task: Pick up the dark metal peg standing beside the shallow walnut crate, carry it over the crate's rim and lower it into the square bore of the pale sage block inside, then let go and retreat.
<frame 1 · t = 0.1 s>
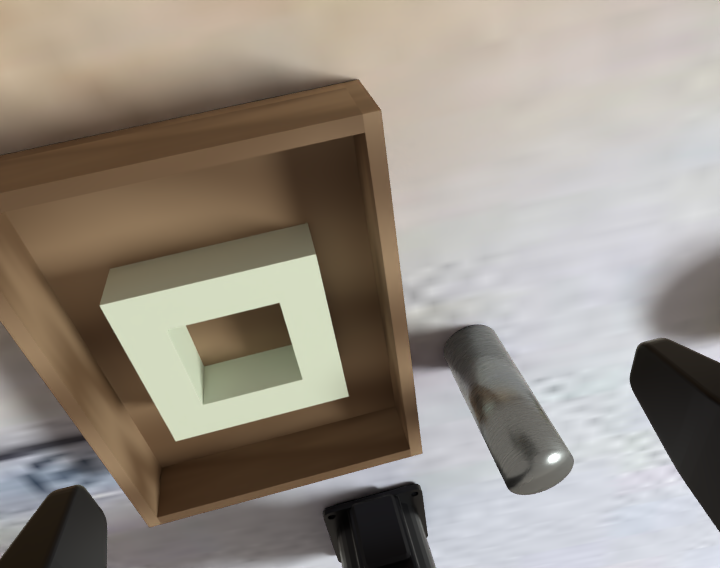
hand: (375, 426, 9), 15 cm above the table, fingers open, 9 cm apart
bore plate: (238, 337, 23), in the crate, point 1 cm above the table
crate: (237, 311, 25), on the table
peg: (470, 346, 29), on the table
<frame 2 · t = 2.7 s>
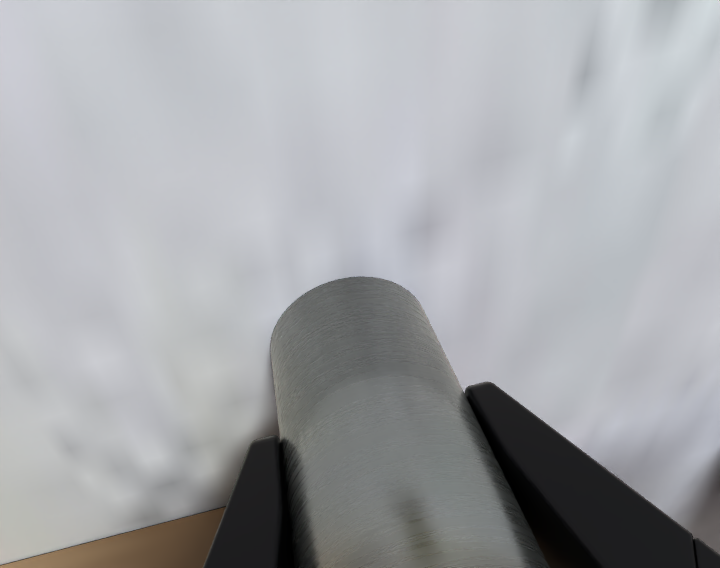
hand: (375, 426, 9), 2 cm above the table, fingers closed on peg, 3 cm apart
peg: (350, 342, 10), on the table, touching gripper
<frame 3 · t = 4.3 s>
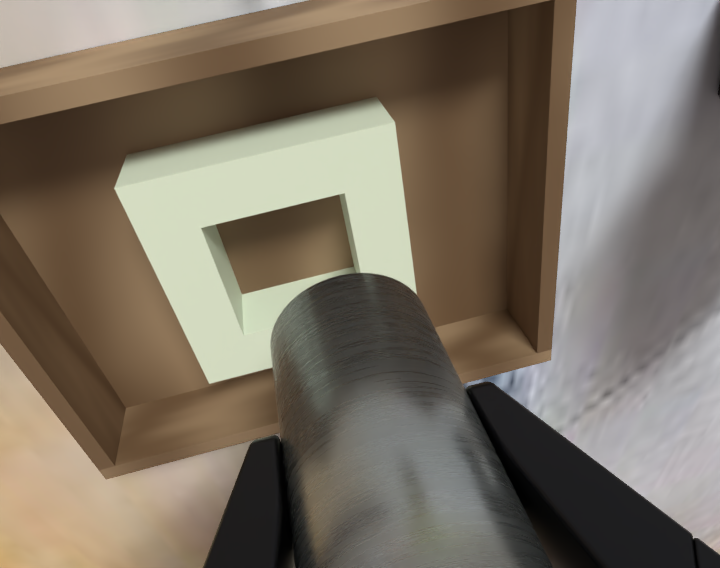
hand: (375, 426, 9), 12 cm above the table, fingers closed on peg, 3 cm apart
bore plate: (287, 249, 19), in the crate, point 1 cm above the table
crate: (283, 223, 20), on the table
peg: (350, 339, 10), point 10 cm above the table, touching gripper
when the fingers open (4 cm above the table, at t = 5.9 s): peg drops 1 cm, resting on crate.
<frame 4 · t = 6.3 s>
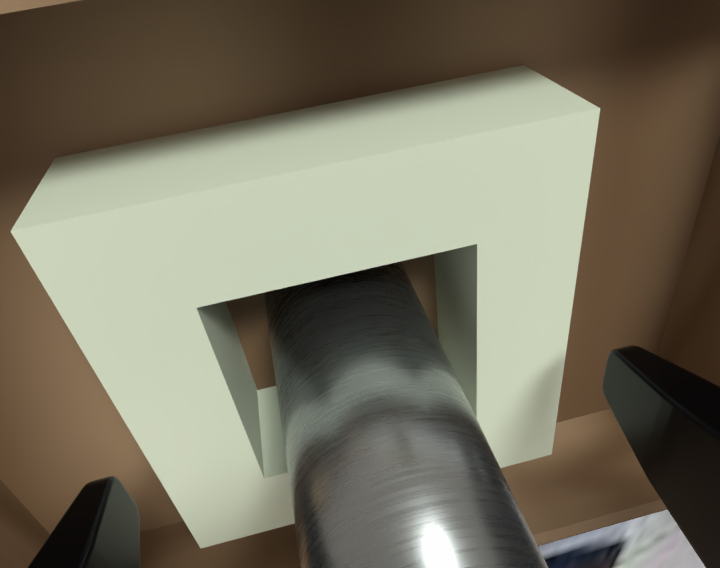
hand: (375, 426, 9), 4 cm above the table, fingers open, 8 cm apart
bore plate: (345, 331, 11), in the crate, point 1 cm above the table
crate: (330, 279, 12), on the table
peg: (337, 293, 11), point 1 cm above the table, touching crate
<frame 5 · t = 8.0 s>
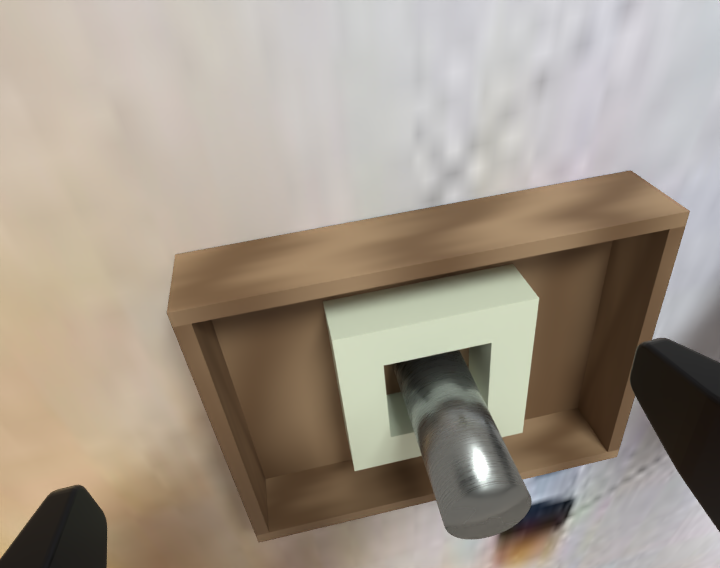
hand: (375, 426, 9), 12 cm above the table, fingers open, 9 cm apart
bore plate: (430, 372, 24), in the crate, point 1 cm above the table
crate: (418, 344, 25), on the table
peg: (423, 352, 25), point 1 cm above the table, touching crate
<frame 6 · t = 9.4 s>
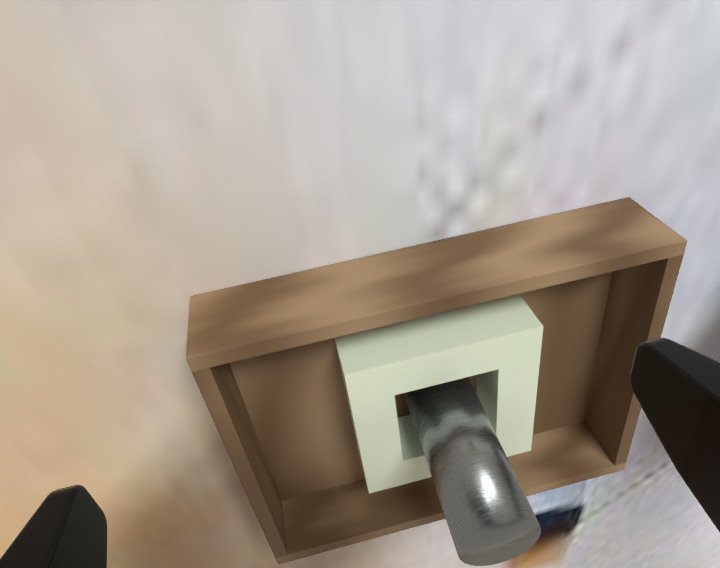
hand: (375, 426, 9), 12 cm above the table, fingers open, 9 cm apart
bore plate: (439, 396, 24), in the crate, point 1 cm above the table
crate: (427, 368, 26), on the table
peg: (432, 376, 25), point 1 cm above the table, touching crate
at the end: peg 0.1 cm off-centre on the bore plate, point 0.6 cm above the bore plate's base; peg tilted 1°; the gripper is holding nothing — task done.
